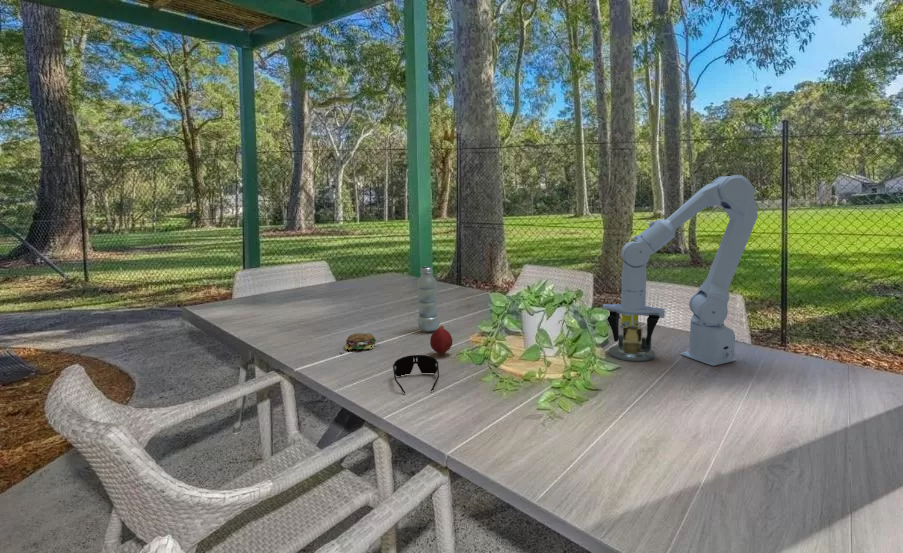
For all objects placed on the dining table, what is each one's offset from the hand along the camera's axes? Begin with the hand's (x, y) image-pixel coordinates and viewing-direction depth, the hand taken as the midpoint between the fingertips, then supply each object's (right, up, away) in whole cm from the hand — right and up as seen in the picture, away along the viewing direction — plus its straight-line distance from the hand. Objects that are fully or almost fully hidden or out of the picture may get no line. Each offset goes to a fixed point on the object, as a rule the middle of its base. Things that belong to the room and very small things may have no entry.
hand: (631, 342), depth 124 cm
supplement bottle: (+9, +1, +26) cm, 27 cm away
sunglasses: (-54, -8, -14) cm, 56 cm away
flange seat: (0, -3, +1) cm, 3 cm away
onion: (-48, -4, +5) cm, 49 cm away
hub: (0, -2, +1) cm, 2 cm away
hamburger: (-72, -4, +13) cm, 74 cm away
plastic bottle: (-53, 0, +28) cm, 60 cm away
